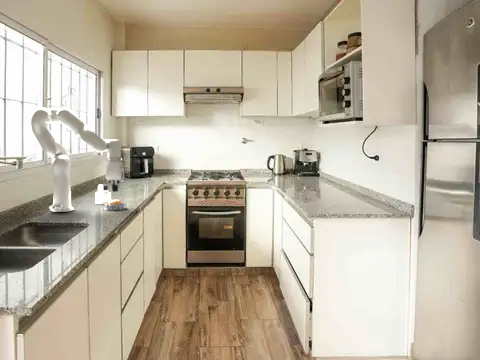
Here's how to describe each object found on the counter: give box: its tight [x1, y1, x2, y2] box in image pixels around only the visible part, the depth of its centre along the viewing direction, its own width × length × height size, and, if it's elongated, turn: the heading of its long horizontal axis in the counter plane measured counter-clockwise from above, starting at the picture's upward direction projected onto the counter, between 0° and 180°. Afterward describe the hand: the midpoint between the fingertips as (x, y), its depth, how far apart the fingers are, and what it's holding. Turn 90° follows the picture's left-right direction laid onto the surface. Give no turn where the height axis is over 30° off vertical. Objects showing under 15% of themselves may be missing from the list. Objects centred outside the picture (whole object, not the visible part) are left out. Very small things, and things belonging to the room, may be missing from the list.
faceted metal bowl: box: [103, 201, 127, 211], centre depth 282 cm, size 13×13×3 cm
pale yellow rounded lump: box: [109, 199, 122, 205], centre depth 282 cm, size 7×7×4 cm
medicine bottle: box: [95, 184, 112, 205], centre depth 303 cm, size 7×7×12 cm
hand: (115, 191), depth 281 cm, fingers closed
